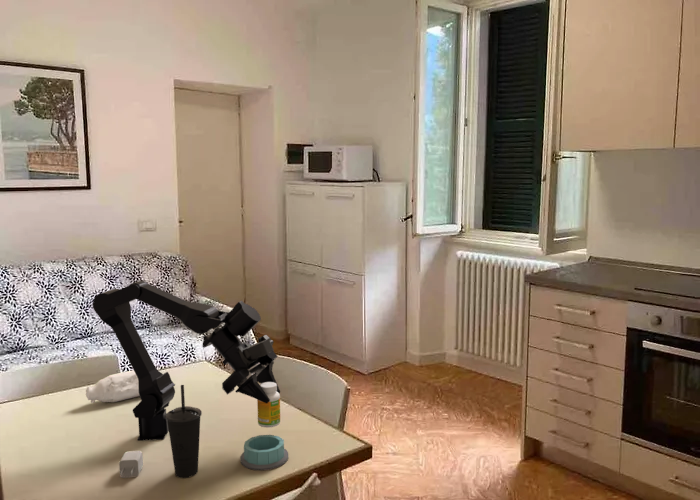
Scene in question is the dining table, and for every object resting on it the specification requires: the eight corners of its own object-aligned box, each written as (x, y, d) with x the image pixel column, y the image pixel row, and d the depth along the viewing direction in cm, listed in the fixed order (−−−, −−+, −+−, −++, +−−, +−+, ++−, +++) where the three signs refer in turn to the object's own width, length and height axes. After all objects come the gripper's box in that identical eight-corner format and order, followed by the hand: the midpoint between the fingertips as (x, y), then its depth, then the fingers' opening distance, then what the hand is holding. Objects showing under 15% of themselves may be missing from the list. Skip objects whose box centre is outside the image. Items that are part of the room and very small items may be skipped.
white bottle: (84, 403, 177) (82, 377, 176) (147, 388, 188) (146, 363, 187) (92, 411, 170) (90, 384, 169) (157, 395, 182) (155, 369, 181)
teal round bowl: (238, 471, 134) (237, 455, 134) (242, 449, 145) (242, 434, 144) (287, 468, 135) (287, 452, 134) (288, 447, 146) (288, 432, 145)
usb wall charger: (143, 467, 137) (142, 450, 136) (136, 482, 130) (135, 464, 129) (124, 468, 136) (123, 451, 136) (116, 484, 129) (115, 466, 129)
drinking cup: (172, 465, 137) (168, 380, 135) (206, 463, 138) (202, 378, 136) (165, 482, 130) (160, 392, 127) (201, 480, 130) (197, 390, 128)
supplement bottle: (272, 429, 142) (272, 389, 141) (253, 425, 144) (252, 386, 143) (284, 421, 147) (283, 382, 146) (265, 417, 149) (264, 379, 148)
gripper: (232, 337, 135) (278, 390, 133) (269, 318, 153) (310, 365, 151) (203, 368, 139) (247, 420, 137) (242, 346, 156) (282, 392, 154)
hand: (273, 397), depth 144 cm, fingers closed on supplement bottle, 5 cm apart
